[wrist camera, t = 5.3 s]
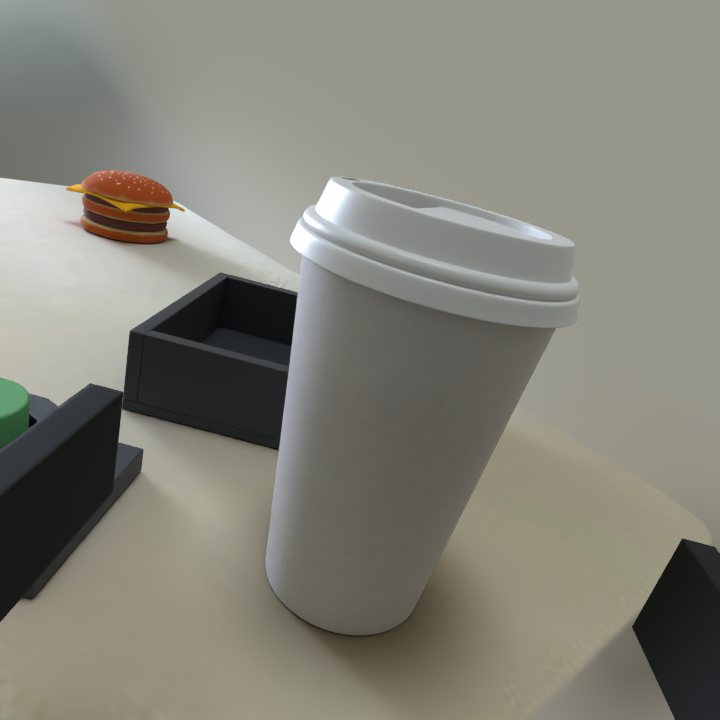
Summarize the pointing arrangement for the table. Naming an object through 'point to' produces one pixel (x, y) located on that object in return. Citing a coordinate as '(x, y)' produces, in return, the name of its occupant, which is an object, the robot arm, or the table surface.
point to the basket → (216, 359)
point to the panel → (124, 474)
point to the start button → (12, 411)
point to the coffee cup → (399, 389)
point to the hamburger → (125, 206)
